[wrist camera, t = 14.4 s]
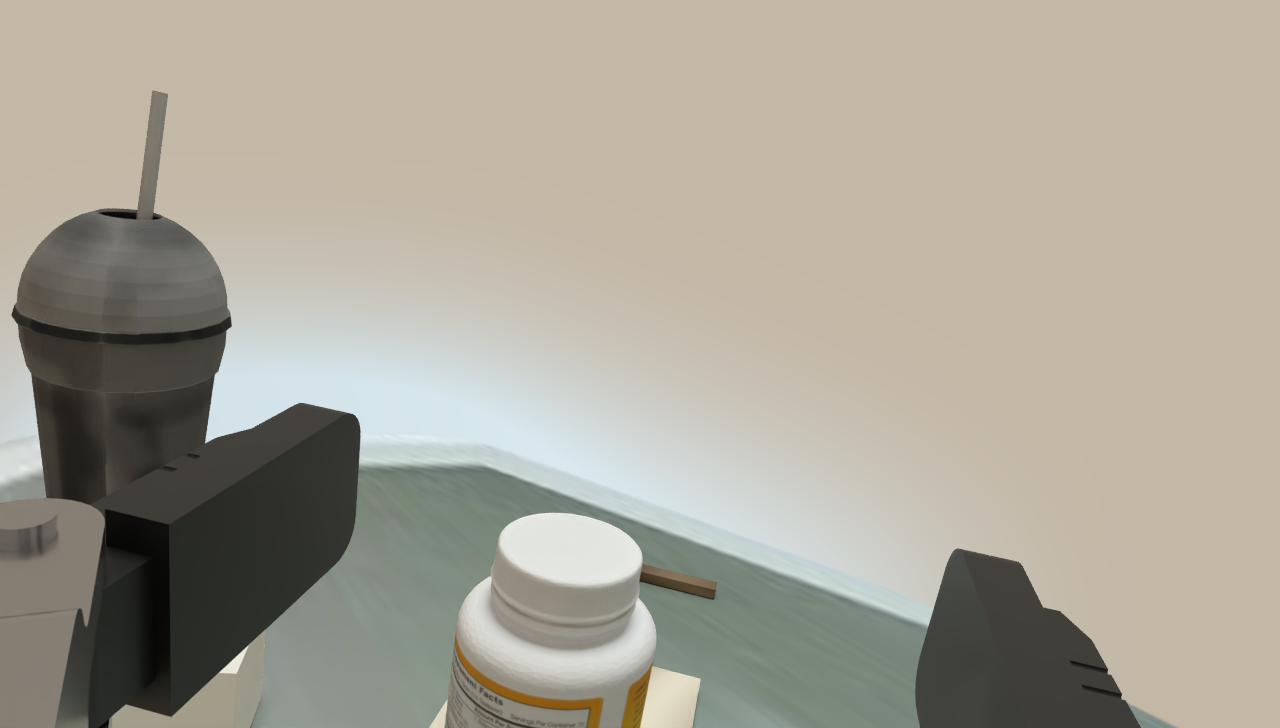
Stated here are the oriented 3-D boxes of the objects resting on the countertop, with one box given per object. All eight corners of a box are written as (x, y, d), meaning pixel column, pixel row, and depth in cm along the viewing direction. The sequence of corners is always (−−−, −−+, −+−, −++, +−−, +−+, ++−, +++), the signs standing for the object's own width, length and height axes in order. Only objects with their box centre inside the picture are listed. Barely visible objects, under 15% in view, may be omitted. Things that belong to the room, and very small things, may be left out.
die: (261, 697, 31) (268, 591, 30) (230, 781, 27) (237, 663, 26) (139, 694, 30) (141, 584, 29) (89, 780, 26) (90, 657, 25)
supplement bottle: (560, 760, 29) (607, 490, 27) (648, 887, 25) (715, 581, 22) (401, 809, 26) (437, 509, 24) (470, 964, 22) (524, 619, 19)
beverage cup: (-29, 588, 34) (-48, 59, 28) (133, 520, 40) (142, 83, 35) (111, 651, 32) (118, 94, 26) (257, 568, 38) (285, 112, 33)
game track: (715, 591, 44) (717, 580, 43) (641, 1017, 22) (645, 999, 22) (546, 549, 45) (548, 539, 45) (319, 916, 23) (321, 899, 23)
